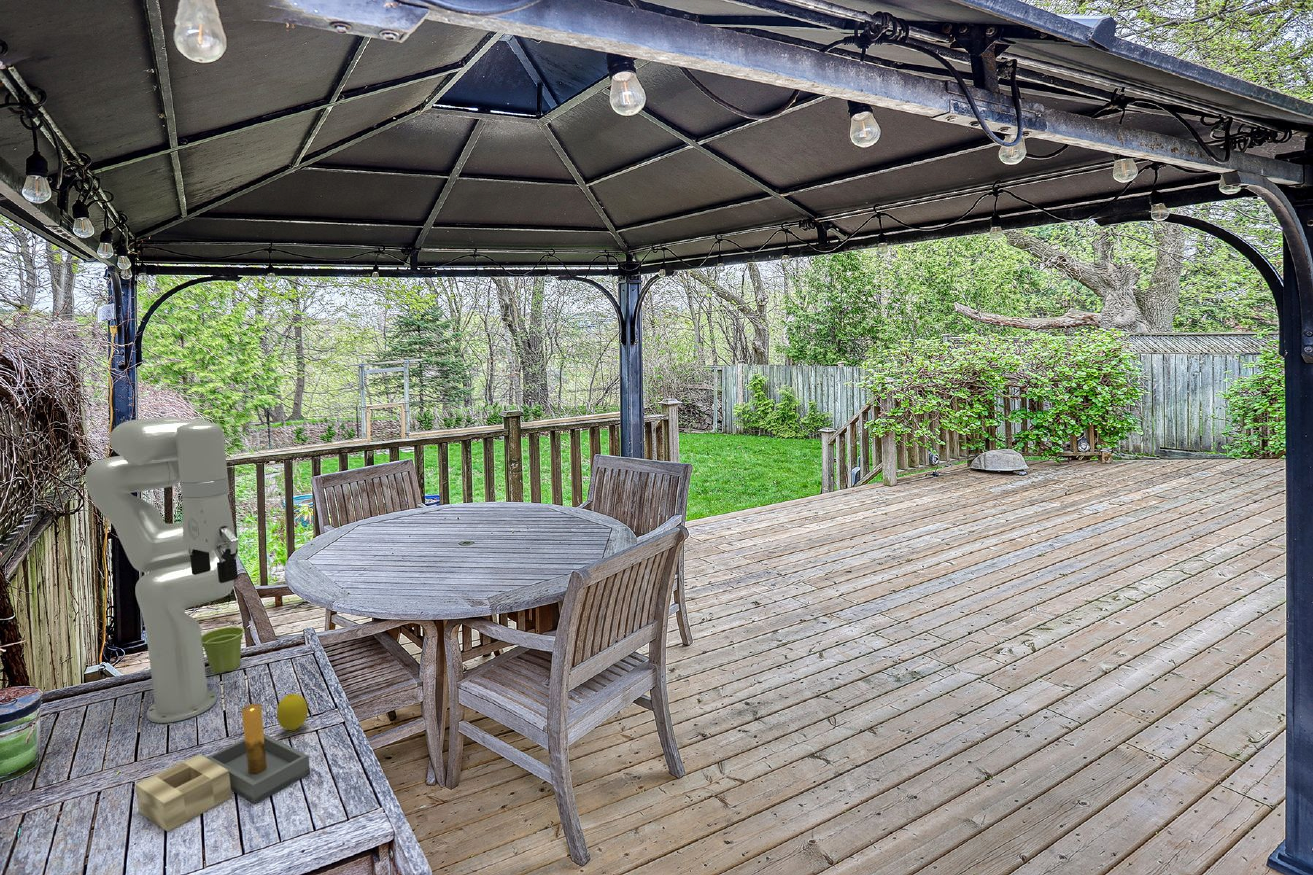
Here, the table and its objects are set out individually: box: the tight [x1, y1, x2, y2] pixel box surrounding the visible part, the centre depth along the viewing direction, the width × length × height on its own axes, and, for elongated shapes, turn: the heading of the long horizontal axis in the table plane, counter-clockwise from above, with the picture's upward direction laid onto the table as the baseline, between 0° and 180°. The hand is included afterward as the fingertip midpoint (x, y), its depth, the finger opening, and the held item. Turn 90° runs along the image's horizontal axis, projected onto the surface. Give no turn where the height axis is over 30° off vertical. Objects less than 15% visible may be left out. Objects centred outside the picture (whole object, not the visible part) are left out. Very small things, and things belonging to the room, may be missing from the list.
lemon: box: [276, 692, 309, 732], centre depth 142 cm, size 6×6×8 cm
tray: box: [206, 733, 311, 805], centre depth 127 cm, size 16×10×4 cm, turn 59°
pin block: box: [134, 753, 233, 832], centre depth 119 cm, size 10×10×5 cm
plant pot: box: [201, 626, 245, 674], centre depth 170 cm, size 9×9×9 cm
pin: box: [241, 703, 267, 774], centre depth 127 cm, size 3×3×12 cm
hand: (214, 576), depth 133 cm, fingers open, 9 cm apart
